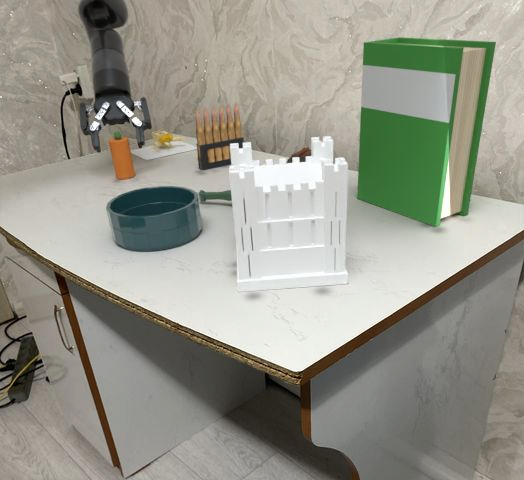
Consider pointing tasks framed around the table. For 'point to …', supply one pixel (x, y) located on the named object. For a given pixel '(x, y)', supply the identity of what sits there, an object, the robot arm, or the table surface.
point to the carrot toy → (121, 156)
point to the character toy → (163, 146)
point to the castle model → (289, 219)
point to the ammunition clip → (217, 137)
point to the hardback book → (422, 124)
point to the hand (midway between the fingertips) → (119, 148)
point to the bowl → (154, 218)
